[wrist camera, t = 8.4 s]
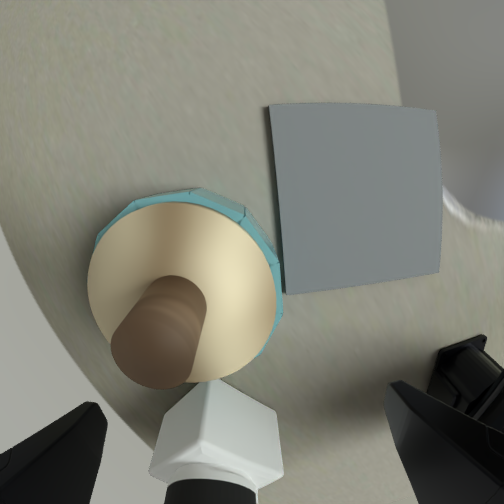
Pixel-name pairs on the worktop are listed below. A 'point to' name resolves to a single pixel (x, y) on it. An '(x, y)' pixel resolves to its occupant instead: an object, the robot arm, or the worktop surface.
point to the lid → (181, 294)
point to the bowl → (227, 208)
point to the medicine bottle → (217, 447)
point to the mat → (356, 193)
